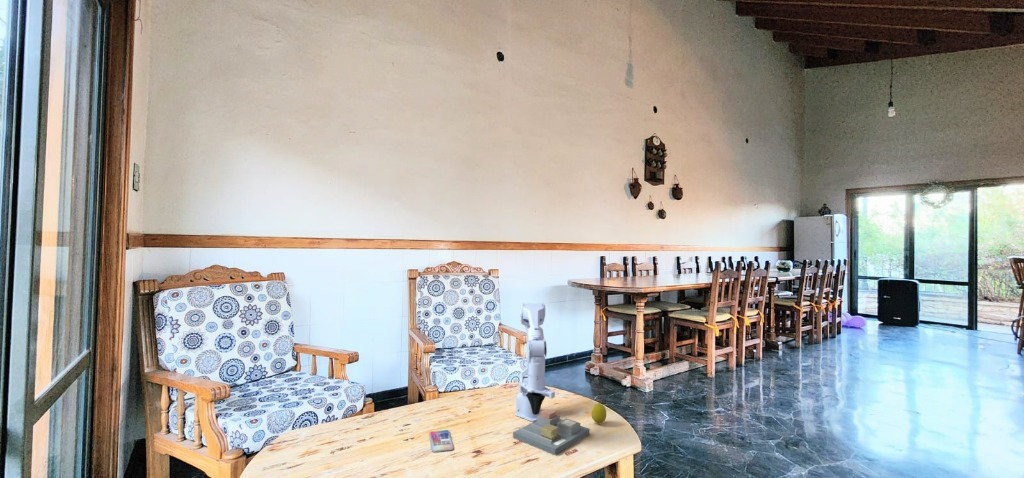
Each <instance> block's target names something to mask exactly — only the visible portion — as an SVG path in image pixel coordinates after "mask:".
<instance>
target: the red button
mask: <svg viewBox="0 0 1024 478" xmlns="http://www.w3.org/2000/svg"><path fill="white" fill-rule="evenodd" d="M556 415H557V412H556V411H555V410H552V409H549V408H545V409H544V410H541V417H543V418H546V419H549V420H550V419H552V418H554V417H556Z"/></svg>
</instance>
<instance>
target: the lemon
mask: <svg viewBox="0 0 1024 478" xmlns="http://www.w3.org/2000/svg"><path fill="white" fill-rule="evenodd" d="M591 419H592V420H593V421H594V422H595V423H596V424H597V425H600V424H603V423H604V422H605V421H606V419H607V410H606V407H605V405H603V404H601V403H600V402H599V403H596V404H594V405H593V406H592V408H591Z"/></svg>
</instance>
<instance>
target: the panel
mask: <svg viewBox="0 0 1024 478" xmlns="http://www.w3.org/2000/svg"><path fill="white" fill-rule="evenodd" d="M565 420H570V421H573V422H576V424H575V425H573V426H572V427H569V426H566V425H563V424H561V422H563V421H565ZM547 424H550V425H553V426H556V427H558V438H556V439H555V440H553V441H552V440H550V439H547V438H545V437H542V436H541V432H542V427H543V426H545V425H547ZM590 431H591V430H590V428H589V427H585V426H583V425H581V422H579V421H576V420H572V419H569V418H567V417H565V418H563V419H562V418H561V417H560V415H558V414H556V417H554V418H552V419H550V420H549V419H546V418H543V417H541V414H540V415H538V416H537V420H536V421H534V422H529V423H528V424H527V425H525V426H523V427H519V428H518V429H516V430H515V431H513V432H512V438H513V439H515V440H517V441H519V442H522V443H525V444H526V445H528V446H532V447H535V448H537V449H539V450H541V451H544V452H546V453H549V454H550V455H552V456H553V455H554V456H556V455H558V454H560V453H561V452H563V451H565V450H566V449H568V448H570V447H572V446H573V445H574V444H576V443H578V442H579V441H581V440H582V439H584V438H586V437H588V436H589V435H590Z"/></svg>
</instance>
